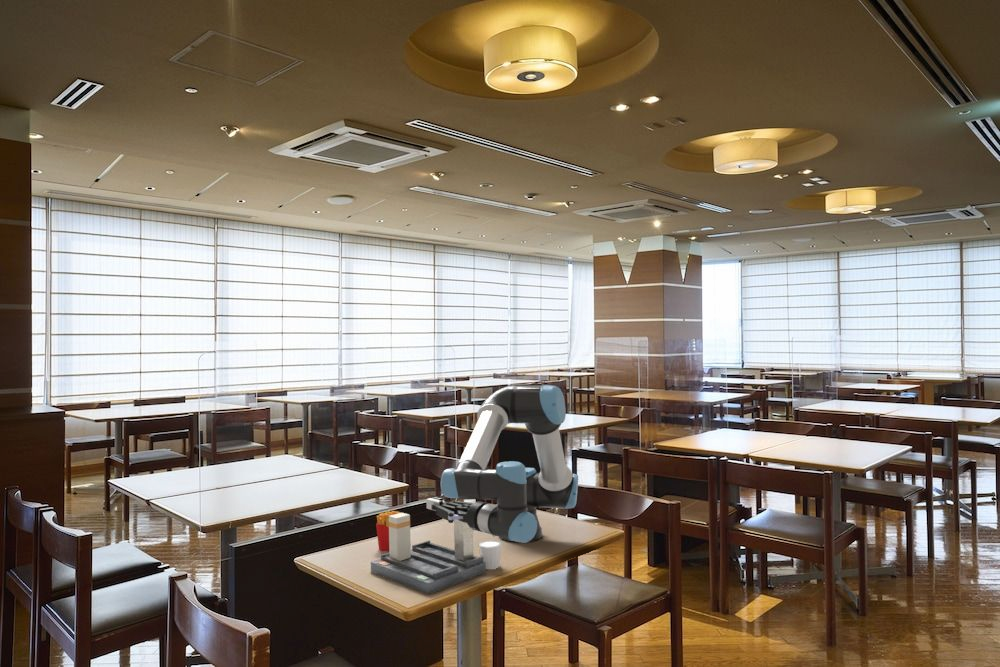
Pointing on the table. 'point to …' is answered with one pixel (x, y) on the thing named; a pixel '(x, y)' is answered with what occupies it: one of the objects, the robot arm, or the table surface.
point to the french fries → (384, 529)
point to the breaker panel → (434, 563)
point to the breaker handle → (399, 536)
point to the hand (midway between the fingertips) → (428, 503)
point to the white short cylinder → (490, 553)
